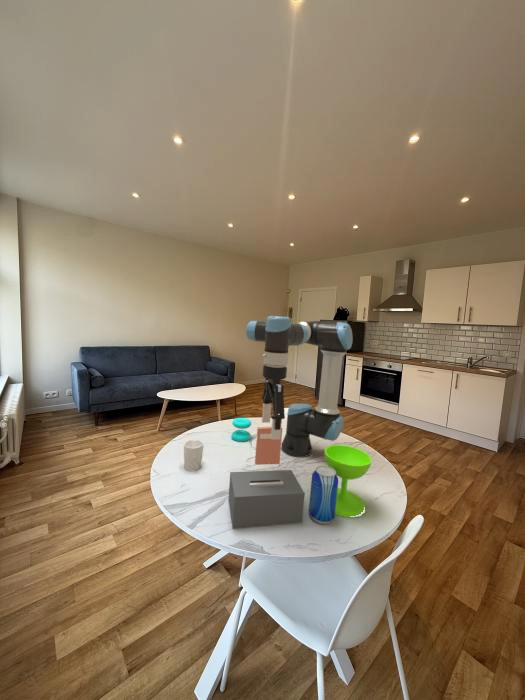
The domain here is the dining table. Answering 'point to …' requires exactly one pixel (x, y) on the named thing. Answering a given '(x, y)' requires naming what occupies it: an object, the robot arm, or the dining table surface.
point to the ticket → (267, 447)
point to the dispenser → (265, 498)
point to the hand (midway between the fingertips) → (270, 430)
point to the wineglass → (347, 476)
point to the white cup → (193, 454)
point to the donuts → (241, 434)
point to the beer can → (323, 494)
